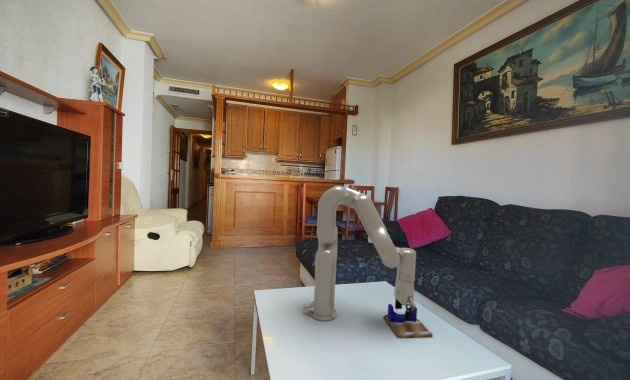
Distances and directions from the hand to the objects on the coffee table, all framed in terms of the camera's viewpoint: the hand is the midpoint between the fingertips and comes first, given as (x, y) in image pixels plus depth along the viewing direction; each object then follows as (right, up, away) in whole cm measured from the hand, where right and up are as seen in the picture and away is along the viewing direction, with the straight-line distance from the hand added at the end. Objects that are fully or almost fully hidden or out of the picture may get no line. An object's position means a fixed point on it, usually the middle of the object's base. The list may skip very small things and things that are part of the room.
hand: (403, 314), depth 117 cm
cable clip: (0, -3, 0) cm, 3 cm away
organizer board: (0, -4, -3) cm, 5 cm away
